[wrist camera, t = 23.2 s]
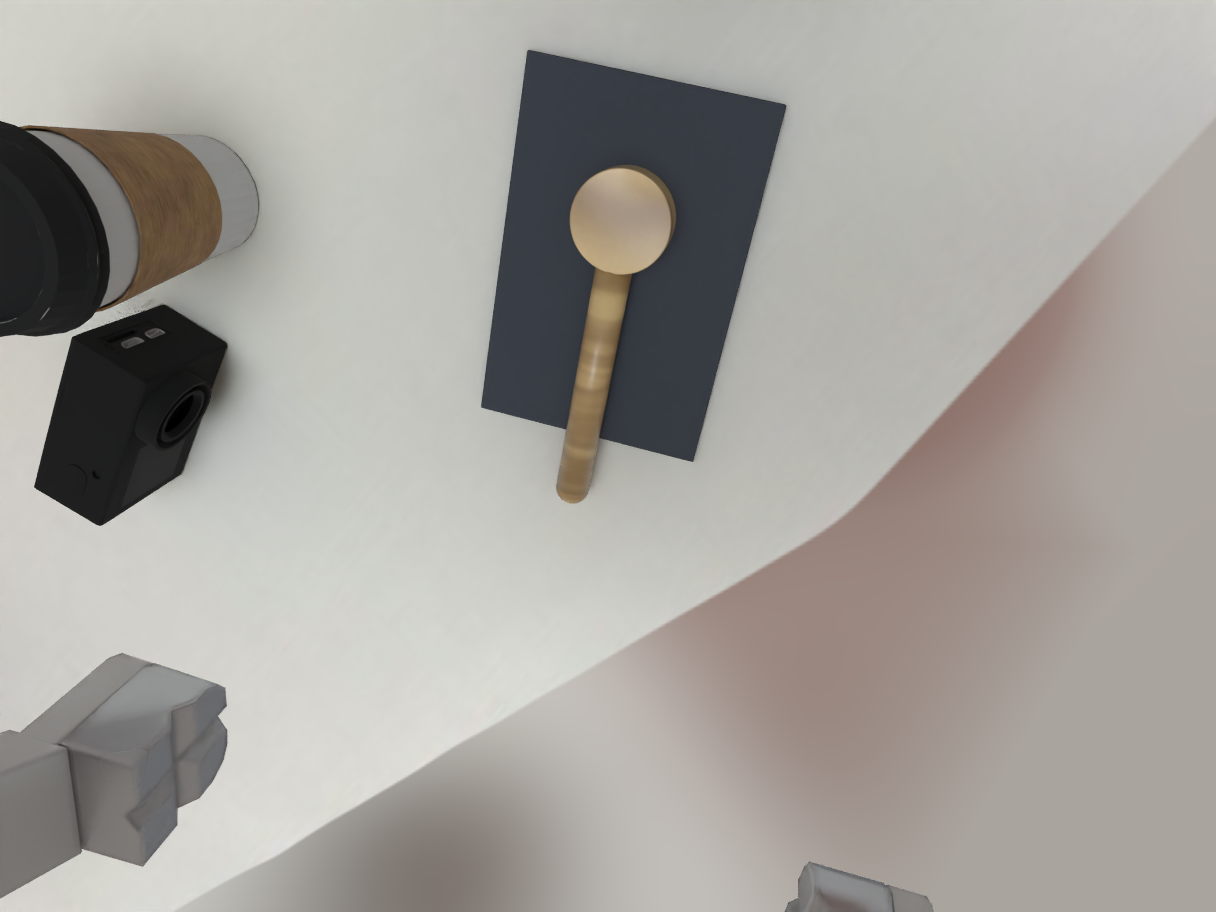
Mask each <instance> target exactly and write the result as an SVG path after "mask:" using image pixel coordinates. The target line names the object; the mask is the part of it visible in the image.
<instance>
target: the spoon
mask: <svg viewBox="0 0 1216 912" xmlns="http://www.w3.org/2000/svg"><path fill="white" fill-rule="evenodd" d="M675 225H676V209H675V204H674V200H673V198H672V195H671V193H670V191H669V189H668V188H667V186H666V185H665V184H664V182H663V181H662V180H661V179H660V178H659V177H658V176H656V175H655V174H654V173H652V172H651V171H649V170H647V169H645V168H642V167H639V166H635V165H617V166H613V167H610V168H608V169H605V170H603V171H601V172H599V173H597V174H595V175H594V176H592V177H591V178H589V179H588V180H587V181H586V182H585V183H584V184H583V185H582V186H581V188H580V189H579V190H578V192H577V194H576V196H575V198H574V200H573V203H572V206H571V211H570V229H571V234H572V238H573V240H574V243H575V245H576V247H577V248H578V250H579V252H580V253H581V254H582V256H583V257H584V258H585V259H586V260H587V261H588V262H589V263H591V264H592V265H593V266H595V273H594V278H593V284H592V289H591V295H590V301H589V306H588V312H587V317H586V323H585V328H584V334H583V340H582V345H581V351H580V356H579V362H578V367H577V373H576V379H575V384H574V390H573V395H572V401H571V406H570V412H569V418H568V423H567V429H566V434H565V440H564V445H563V451H562V457H561V462H560V468H559V473H558V479H557V484H556V490H557V493H558V496H559V497H560V498H561V499H562V500H563V501H565V502H567V503H571V504H575V503H579V502H581V501H582V500H583V499H584V498H585V497H586V496H587V494H588V491H589V487H590V482H591V477H592V472H593V467H594V462H595V457H596V452H597V447H598V442H599V437H600V432H601V427H602V422H603V417H604V412H605V407H606V402H607V397H608V392H609V387H610V382H611V377H612V372H613V367H614V362H615V357H616V352H617V347H618V342H619V337H620V332H621V327H622V322H623V317H624V312H625V307H626V302H627V297H628V292H629V287H630V282H631V277H632V273H636V272H639V271H641V270H644V269H645V268H647V267H649V266H650V265H651V264H653V263H654V262H655V261H656V260H657V259H658V258H659V257H660V256H661V254H662V253H663V252H664V250H665V249H666V247H667V246H668V244H669V243H670V241H671V239H672V236H673V233H674V230H675Z"/></svg>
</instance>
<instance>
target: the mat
mask: <svg viewBox="0 0 1216 912" xmlns="http://www.w3.org/2000/svg"><path fill="white" fill-rule="evenodd" d="M785 109H786V105H785V104H780V103H775V102H771V101H766V100H761V99H757V98H752V97H747V96H743V95H738V94H733V93H728V92H724V91H719V90H714V89H710V88H705V87H700V86H696V85H691V84H686V83H682V82H677V81H672V80H667V79H663V78H658V77H653V76H649V75H644V74H639V73H635V72H630V71H625V70H620V69H616V68H611V67H606V66H602V65H597V64H592V63H588V62H583V61H578V60H574V59H569V58H564V57H559V56H555V55H550V54H545V53H541V52H536V51H531V50H528V51H527V58H526V65H525V73H524V81H523V88H522V96H521V104H520V112H519V119H518V127H517V135H516V142H515V150H514V158H513V165H512V173H511V181H510V189H509V196H508V204H507V212H506V219H505V227H504V235H503V242H502V250H501V258H500V265H499V273H498V281H497V289H496V296H495V304H494V312H493V319H492V327H491V335H490V342H489V350H488V358H487V366H486V373H485V381H484V389H483V396H482V404H481V407H482V408H485V409H489V410H493V411H497V412H501V413H504V414H508V415H512V416H516V417H520V418H524V419H528V420H532V421H536V422H539V423H543V424H547V425H551V426H555V427H559V428H563V429H567V423H568V418H569V412H570V406H571V401H572V395H573V390H574V384H575V379H576V373H577V367H578V362H579V356H580V351H581V345H582V340H583V334H584V328H585V323H586V317H587V312H588V306H589V301H590V295H591V289H592V284H593V278H594V273H595V266H593V265H592V264H591V263H589V262H588V261H587V260H586V259H585V258H584V257H583V256H582V254H581V253H580V252H579V250H578V248H577V247H576V245H575V243H574V240H573V238H572V234H571V229H570V211H571V206H572V203H573V200H574V198H575V196H576V194H577V192H578V190H579V189H580V188H581V186H582V185H583V184H584V183H585V182H586V181H587V180H588V179H589V178H591V177H592V176H594V175H595V174H597V173H599V172H601V171H603V170H605V169H608V168H610V167H613V166H617V165H635V166H639V167H642V168H645V169H647V170H649V171H651V172H652V173H654V174H655V175H656V176H658V177H659V178H660V179H661V180H662V181H663V182H664V184H665V185H666V186H667V188H668V189H669V191H670V193H671V195H672V198H673V200H674V204H675V209H676V225H675V230H674V233H673V236H672V239H671V241H670V243H669V244H668V246H667V247H666V249H665V250H664V252H663V253H662V254H661V256H660V257H659V258H658V259H657V260H656V261H655V262H654V263H653V264H651V265H650V266H649V267H647V268H645V269H644V270H641V271H639V272H636V273H632V277H631V282H630V287H629V292H628V297H627V302H626V307H625V312H624V317H623V322H622V327H621V332H620V337H619V342H618V347H617V352H616V357H615V362H614V367H613V372H612V377H611V382H610V387H609V392H608V397H607V402H606V407H605V412H604V417H603V422H602V427H601V432H600V437H599V438H602V439H605V440H609V441H613V442H617V443H621V444H625V445H629V446H633V447H637V448H640V449H644V450H648V451H652V452H656V453H660V454H664V455H668V456H672V457H675V458H679V459H683V460H687V461H691V462H693V460H694V456H695V452H696V448H697V444H698V440H699V437H700V433H701V429H702V425H703V421H704V418H705V414H706V410H707V406H708V402H709V399H710V395H711V391H712V387H713V383H714V380H715V376H716V372H717V368H718V364H719V361H720V357H721V353H722V349H723V345H724V341H725V338H726V334H727V330H728V326H729V322H730V319H731V315H732V311H733V307H734V303H735V300H736V296H737V292H738V288H739V284H740V281H741V277H742V273H743V269H744V265H745V261H746V258H747V254H748V250H749V246H750V242H751V239H752V235H753V231H754V227H755V223H756V220H757V216H758V212H759V208H760V204H761V201H762V197H763V193H764V189H765V185H766V182H767V178H768V174H769V170H770V166H771V162H772V159H773V155H774V151H775V147H776V143H777V140H778V136H779V132H780V128H781V124H782V121H783V117H784V113H785Z"/></svg>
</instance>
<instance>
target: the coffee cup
mask: <svg viewBox="0 0 1216 912" xmlns="http://www.w3.org/2000/svg"><path fill="white" fill-rule="evenodd" d="M257 216H258V197H257V191H256V188H255V184H254V181H253V179H252V177H251V175H250V173H249V171H248V169H247V168H246V166H245V165H244V163H243V162H242V161H241V159H240V158H239V157H238V156H237V155H236V154H235V153H234V152H233V151H232V150H230V149H229V148H228V147H226V146H225V145H224V144H222V143H220V142H218V141H216V140H214V139H212V138H208V137H205V136H197V135H173V134H155V133H140V132H124V131H108V130H93V129H77V128H62V127H46V126H30V125H28V126H23V127H17V126H15V125H12V124H9V123H5V122H2V121H0V337H2V336H9V335H16V334H17V335H26V336H45V335H53V334H58V333H65V332H68V331H70V330H73V329H75V328H78V327H80V326H81V325H82V324H84V323H85V322H86V321H88V320H89V319H90V318H91V317H92V316H93V315H94V313H95V312H98V311H103V310H106V309H108V308H111V307H113V306H115V305H117V304H119V303H121V302H123V301H126V300H128V299H130V298H132V297H134V296H136V295H138V294H140V293H142V292H144V291H146V290H148V289H150V288H152V287H154V286H156V285H158V284H160V283H162V282H164V281H166V280H169V279H171V278H173V277H175V276H177V275H179V274H181V273H183V272H185V271H187V270H189V269H191V268H193V267H195V266H197V265H199V264H201V263H202V262H204V261H206V260H208V259H211V258H213V257H215V256H217V255H220V254H222V253H224V252H227V251H229V250H231V249H233V248H236V247H237V246H239V245H240V244H242V243H243V242H244V241H245V240H246V239H247V238H248V237H249V236H250V234H251V233H252V231H253V229H254V227H255V225H256V221H257Z"/></svg>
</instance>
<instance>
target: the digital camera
mask: <svg viewBox="0 0 1216 912" xmlns="http://www.w3.org/2000/svg"><path fill="white" fill-rule="evenodd" d="M226 348H227V344H226V343H225V342H224V341H222V340H221V339H219V338H217V337H216V336H214V335H213V334H211V333H209V332H208V331H206V330H204V329H203V328H201V327H199V326H198V325H196V324H195V323H193V322H191V321H190V320H188V319H186V318H185V317H183V316H182V315H180V314H178V313H177V312H175V311H173V310H172V309H170V308H169V307H167V306H165V305H160V306H157V307H155V308H152V309H149V310H146V311H143V312H140V313H138V314H135V315H132V316H129V317H126V318H123V319H120V320H118V321H115V322H112V323H109V324H106V325H103V326H100V327H98V328H95V329H92V330H89V331H86V332H83V333H81V334H78V335H76V336H74V337H72V340H71V344H70V348H69V351H68V355H67V359H66V362H65V366H64V370H63V374H62V378H61V382H60V386H59V389H58V393H57V397H56V401H55V405H54V409H53V413H52V417H51V421H50V425H49V429H48V433H47V437H46V441H45V445H44V449H43V453H42V457H41V461H40V465H39V469H38V473H37V478H36V482H35V486H34V487H35V488H36V489H37V490H39V491H41V492H42V493H44V494H46V495H47V496H49V497H51V498H52V499H54V500H56V501H58V502H59V503H61V504H63V505H64V506H66V507H68V508H69V509H71V510H73V511H74V512H76V513H78V514H79V515H81V516H83V517H84V518H86V519H88V520H90V521H91V522H93V523H95V524H96V525H99V526H101V525H103V524H105V523H107V522H108V521H110V520H111V519H113V518H115V517H116V516H118V515H119V514H121V513H122V512H124V511H125V510H127V509H128V508H130V507H131V506H133V505H134V504H136V503H138V502H139V501H141V500H142V499H144V498H145V497H147V496H148V495H150V494H151V493H153V492H154V491H156V490H157V489H159V488H161V487H162V486H164V485H165V484H167V483H168V482H170V481H171V480H173V479H174V478H176V477H177V476H179V475H180V474H181V473H182V470H183V467H184V464H185V462H186V459H187V456H188V453H189V451H190V448H191V445H192V442H193V439H194V437H195V434H196V431H197V428H198V426H199V423H200V420H201V418H202V416H203V415H204V413H205V411H206V409H207V407H208V404H209V402H210V398H211V389H212V387H213V384H214V381H215V378H216V375H217V373H218V370H219V367H220V364H221V361H222V359H223V356H224V353H225V350H226Z"/></svg>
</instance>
